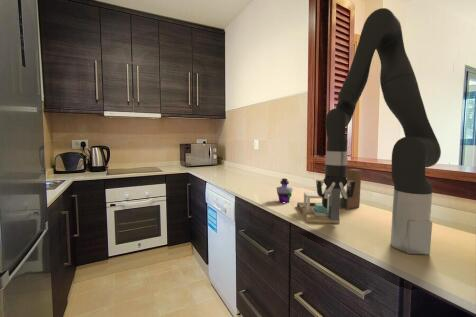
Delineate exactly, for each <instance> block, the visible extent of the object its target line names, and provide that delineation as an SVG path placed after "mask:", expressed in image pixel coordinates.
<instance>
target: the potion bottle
mask: <svg viewBox="0 0 476 317" xmlns="http://www.w3.org/2000/svg"><path fill="white" fill-rule="evenodd" d="M280 184H281V186H277V187H276V193H277V196H278V202H279V201H280V202H279V203H281V202H286V203H285V204H288V203H290V200H291V198H292V194H293V193H292V192H293V187H289V186H288V185H289V180H288V178H281V180H280Z"/></svg>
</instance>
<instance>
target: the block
mask: <svg viewBox="0 0 476 317" xmlns="http://www.w3.org/2000/svg"><path fill="white" fill-rule="evenodd" d="M314 203H315V208H314V210H315V211H316V212H327V208H324V206H323V205H322V202H314ZM327 207H328V206H327Z"/></svg>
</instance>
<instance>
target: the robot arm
mask: <svg viewBox="0 0 476 317" xmlns="http://www.w3.org/2000/svg"><path fill="white" fill-rule="evenodd" d="M375 52H376V53H377V55H378V58H379V62H380V73H379V83H380V88H381V92H382V95H383V99H384V102H385V104H386V106H387V107H388V109H389V110H390V112H391V113H392V114H393V115H394V117H395V118H396V120H397V121H398V122H399V124H400V125H401V127H402V129H403V134H404V137H401V138H399V139H398V140H397V141H396V142H395V144H394V145H393V147H392V151H391V179H392V182H393V198H392V214H391V230H390V232H391V233H390V245H391V246H392V247H393V248H395V249H396V250H398V251H401V252H404V253H406V254H410V255H430V254H431V245H432V244H431V243H432V230H433V221H431V215H432V214H431V213H432V202H433V201H432V199H433V187H434V185H433V183H432V182H431V181H429V180H428V179H427V177H426V168H430V167H433V166H435V165H436V164H437V163H438V162H439V160H440V159H441V155H442V151H441V145H440V143H439V141H438V138H437V136H436V133H435V132H434V129H433V128H432V125H431V123H430V121H429V118H428V115H427V112H426V108H425V105H424V101H423V99H422V95H421V91H420V89H419V84H418V81H417V77H416V74H415V72H414V71H415V70H414V68H413V66H412V64H411V61H410V59H409V56H408V54H407V52H406V48H405V42H404V37H403V30H402V25H401V21H400V20H399V18H397V16H396V15H395V14H394V12H393V11H391V9H389V8H387V7H386V8H385V7H382V8H378V9H375V10H373V11H372V12H371V13H370V14H369V15H368V17H366V19H365V21H364V23H363V26H362V29H361V33H360V35H359V39H358V43H357V46H356V49H355V52H354V55H353V58H352V61H351V64H350V67H349V70H348V73H347V75H346V76H345V77H346V78H344V81H343V84H342V85H341V87H340V91H339V93H338V96H337V100H338V101H337V103H336V106H335V108H334V107H333V108H332V109H330V110H329V111H328V112H327V114H326V116H325V130H326V138H327V139H326V140H327V141H326V154H325V161H324V163H325V164H324V165H325V166H324V177H323V179H320V180H319V179H317V180H315V184H316V193H317V194H318V195H319V196H320V197H322V198H321V203H322V205H323V206H324V208H327V204H328V199H327V197H328V196H329V194H330V193H331V191H332V189H340V196H341V197H340V198H341V207H340V208H341V209H343V210H344V209H345V207H346V206H347V198H349V197H353V192H354V187H355V182H354V181H347V170H348V137H347V135H346V127H348V125H349V124H350V122H351V120H352V118H353V115H354V113H355V110H356V106H357V103H358V101H359V100H360V98H361V96H362V94H363V92H364V89H365V88H366V85H367V82H368V80H369V76H370V75H369V74H370V69H371V64H372V60H373V57H374V54H375ZM323 185H325V186H326V187H325V188H324V190H323ZM347 185H348V191H347V194H346V189H345V187H346V186H347ZM345 210H346V209H345Z"/></svg>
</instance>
